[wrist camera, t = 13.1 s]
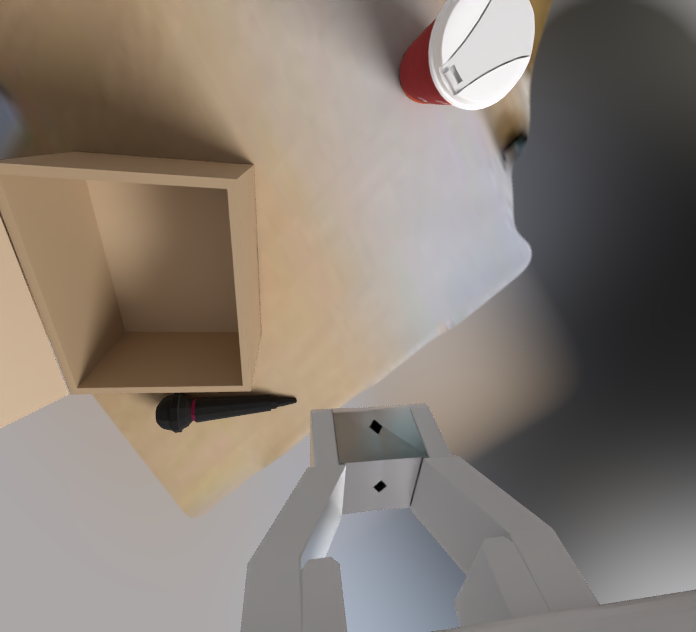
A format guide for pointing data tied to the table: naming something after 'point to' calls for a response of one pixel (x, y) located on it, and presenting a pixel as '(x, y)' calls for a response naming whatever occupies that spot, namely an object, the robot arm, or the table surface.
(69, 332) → the carton
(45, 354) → the flap
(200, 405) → the microphone
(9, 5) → the table surface
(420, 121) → the table surface
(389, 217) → the table surface
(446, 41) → the paper cup
